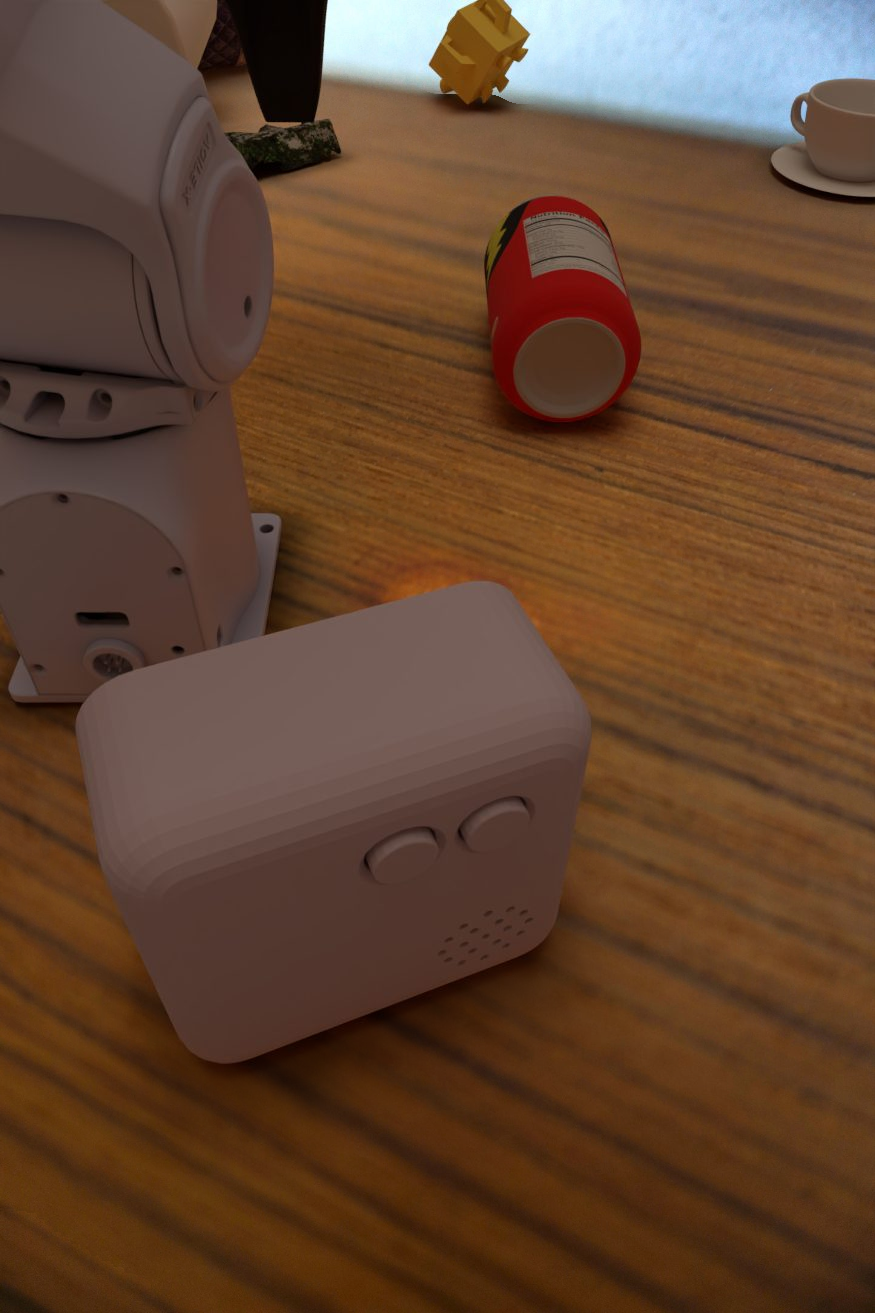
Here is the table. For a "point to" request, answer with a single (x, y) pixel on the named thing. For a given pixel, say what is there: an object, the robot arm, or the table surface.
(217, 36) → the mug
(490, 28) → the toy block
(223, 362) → the robot arm
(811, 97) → the teacup
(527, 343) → the beverage can
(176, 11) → the cup
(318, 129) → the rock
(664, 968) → the table surface
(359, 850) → the electronic device
